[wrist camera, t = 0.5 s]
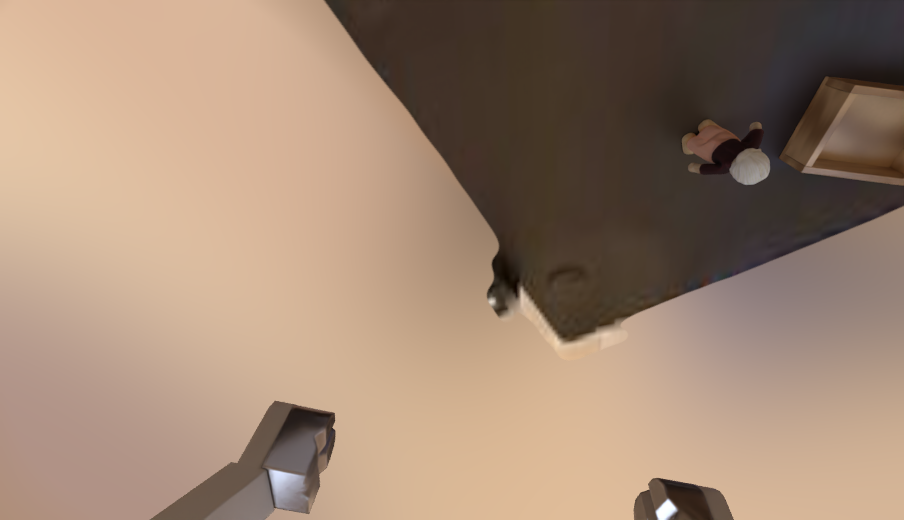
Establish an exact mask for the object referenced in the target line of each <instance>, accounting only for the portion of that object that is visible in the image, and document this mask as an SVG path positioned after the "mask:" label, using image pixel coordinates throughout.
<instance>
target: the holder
mask: <svg viewBox="0 0 904 520" xmlns="http://www.w3.org/2000/svg"><path fill="white" fill-rule="evenodd" d="M779 159H780V160H782V161H784V162H785V163H787V164H789V165H790V166H792V167H793V168H795V169H797V170H798V171H800V172H801V173H809V174H817V175H825V176H832V177H840V178H848V179H856V180H864V181H871V182H879V183H887V184H895V185H903V186H904V86H899V85H891V84H883V83H875V82H868V81H860V80H852V79H844V78H836V77H828V76H826V77H825V78H824V80H823V82H822V83H821V85H820V87H819V89H818V90H817V92H816V94H815V96H814V97H813V99H812V101H811V103H810V104H809V106H808V108H807V110H806V111H805V113H804V115H803V117H802V118H801V120H800V122H799V124H798V125H797V127H796V129H795V131H794V132H793V134H792V136H791V138H790V139H789V141H788V143H787V145H786V146H785V148H784V150H783V152H782V153H781V155H780V157H779Z"/></svg>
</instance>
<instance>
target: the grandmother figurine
mask: <svg viewBox="0 0 904 520" xmlns="http://www.w3.org/2000/svg"><path fill="white" fill-rule="evenodd" d="M761 127H762V126H761V123H759V122H754V123H752V124H751V125H750V132H749V133H748V135H747V136H746V137H745V138H744V139H743V140H742V141H741V142H740V140H739V138H738V137H736V136H735V135H734V134H732V133H731V132H730V131H728V130H726V129H724V128H721V127H720V126H718V125H717V124H715V123H714V122H713V121H711V120H709V119H707V120H704V121H703V122H701V123H700V124H699V126H698V130H699V132H700V133H699V134H698V135H697V136H696V135H695V134H694V133H688V134H686V135H685V136H684V137H683V138H682V148H683V152H684V153H685V154H694V153H695V154H697V155H698V156H700V157H701V158H703V159H704V160H706V161H708V162H712V163H715V164H697V163H691V164H690V165H689V166H688V170H689V171H691V172H696V173H700V174H703V175H708V174H726V173H728V172H730V173H731V174H732V176H733V177H734V178H735V179H736V180H737V181H738V182H741V183H742V184H746V185H749V184H751V185H752V184H755V183H757V182H759V181H761V180H763V179H765V178H766V177H767V176H768V174H769V171H770V161H769V159H768V157H767V156H766V155H765V154H764V153H762V152H761V149H758V148H759V146H760V144H761V141H762V137H763V134H764V131H763V130H762V128H761Z"/></svg>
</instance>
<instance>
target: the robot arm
mask: <svg viewBox="0 0 904 520" xmlns="http://www.w3.org/2000/svg"><path fill="white" fill-rule="evenodd" d="M334 422H335V413H333V412H327V411H322V410H318V409H313V408H307V407H302V406H298V405H294V404H289V403H284V402H279V401H274V403H273V404H272V405H271V406H270V407H269V408H268V410H267V412H266V414H265V415H264V417H263V419H262V421H261V422H260V424H259V426H258V428H257V429H256V431H255V433H254V435H253V437H252V439H251V440H250V442H249V444H248V445H247V447H246V449H245V451H244V452H243V454H242V456H241V458H240V459H239V461H238V463H232V462H231V463H230V464H229V465H227V466H225V467H224V468H223V469H221V470H220V471H219V472H217V473H215V474H214V475H213V476H211V477H210V478H208V479H207V480H206V481H204V482H203V483H201V484H200V485H198V486H197V487H196V488H194V489H193V490H191V491H190V492H189V493H187V494H186V495H184V496H183V497H181V498H180V499H179V500H177V501H176V502H175V503H173V504H172V505H170V506H169V507H167V508H166V509H164V510H163V511H162V512H160V513H159V514H157V515H156V516H155V517H153V518H152V519H150V520H265V519H266V518H267V517H268V516H269V515H270V514H271V513H272V512H273V511H274V508H278V509H283V510H289V511H295V512H301V513H306V514H309V513H310V510H311V508H312V505H313V503H314V500H315V497H316V495H317V492H318V490H319V487H320V480H319V474H320V473H321V472H322V471H324V470H325V469H326V468H327V466H328V463H329V460H330V457H331V454H332V450H333V447H334V442H335V430H334V429H333V428H332V427H333V424H334ZM648 485H649V489H650V490H647V491H644V492H641V493H640V494H639V496H638V497H637V498H636V500H635V506H634V520H734V519H733V517H732V514H731V512H730V510H729V507H728V505H727V502H726V500H725V498H724V496H723V495H722V494H721V492H720V491H718V490H716V489H713V488H708V487H702V486H698V485H694V484H689V483H683V482H678V481H672V480H666V479H661V478H654V479H652V480H651V481H650V482H649V484H648Z"/></svg>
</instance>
